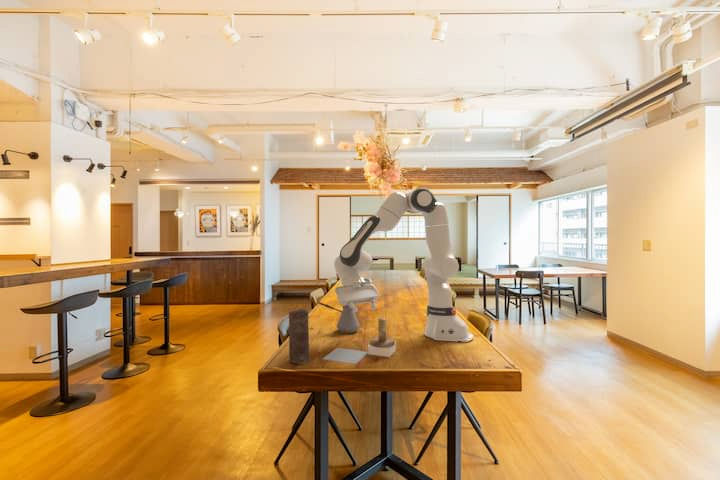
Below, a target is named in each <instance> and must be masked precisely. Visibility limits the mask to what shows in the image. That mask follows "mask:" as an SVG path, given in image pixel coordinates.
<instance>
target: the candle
mask: <svg viewBox="0 0 720 480" xmlns="http://www.w3.org/2000/svg"><path fill="white" fill-rule="evenodd" d="M288 330H289V331H288V341H289V342H288V347H289V348H288V355H289V358H288V361H290V363H293V364H299V365H304V364H308V363H310V340H309V339H310V335H309V333H310V332H309V331H310V330H309V310H308V309H307V308H306V309H305V308H297V309H295V310H289V311H288Z"/></svg>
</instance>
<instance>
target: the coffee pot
mask: <svg viewBox="0 0 720 480" xmlns="http://www.w3.org/2000/svg"><path fill="white" fill-rule="evenodd" d="M318 305H320V306H323V307H326V308H329V309H330V310H335V311H337V312H339V313H341V314H340V316H339V318H338V321H337V323H336V328H337V329H338V331H340V332H341V333H342V334H354V333H356V331H358V330H359V328H360V323H359V320H358V318H357V315H356V312H354V311H353V309H351V308H350V307H349V306H348V305H345V306H342V305H341V307H342V310H341V309H338V308H336V307H334V306H331V305H328V304H327V303H326V304H325V303H324V302H320V301H318V302H317V305H316V306H318Z"/></svg>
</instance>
